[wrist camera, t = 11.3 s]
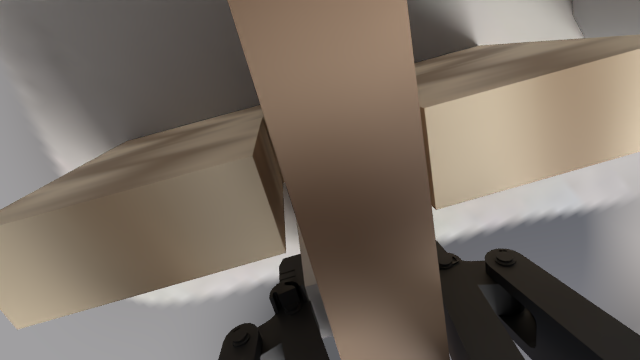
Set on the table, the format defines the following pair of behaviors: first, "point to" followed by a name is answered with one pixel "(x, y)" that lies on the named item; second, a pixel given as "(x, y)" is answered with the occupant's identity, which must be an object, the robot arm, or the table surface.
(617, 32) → the cup
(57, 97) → the table surface
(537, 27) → the table surface
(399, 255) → the walnut plate
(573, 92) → the notched wooden slab
